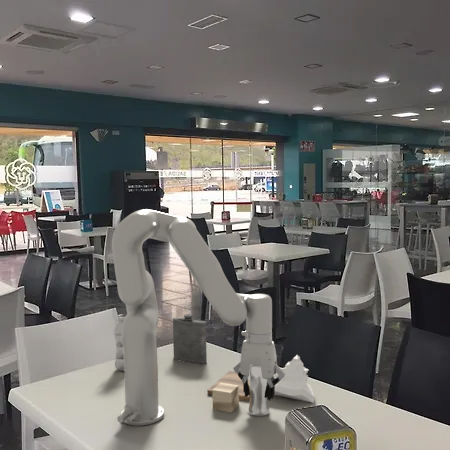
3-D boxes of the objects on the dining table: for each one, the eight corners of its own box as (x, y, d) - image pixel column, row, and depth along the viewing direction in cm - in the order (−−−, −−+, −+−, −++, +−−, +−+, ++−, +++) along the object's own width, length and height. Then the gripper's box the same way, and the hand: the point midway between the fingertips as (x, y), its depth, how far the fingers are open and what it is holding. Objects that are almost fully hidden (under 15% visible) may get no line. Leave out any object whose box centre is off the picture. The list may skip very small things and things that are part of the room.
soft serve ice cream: (276, 391, 171) (284, 348, 172) (319, 404, 163) (327, 359, 165) (260, 395, 160) (268, 349, 162) (305, 409, 153) (314, 361, 154)
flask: (203, 365, 192) (202, 317, 191) (171, 359, 199) (169, 313, 197) (208, 362, 195) (207, 315, 194) (176, 356, 202) (175, 311, 201)
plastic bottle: (111, 372, 186) (109, 317, 185) (120, 365, 193) (118, 313, 191) (127, 373, 184) (125, 318, 183) (136, 367, 191) (134, 314, 189)
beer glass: (271, 417, 148) (271, 366, 147) (247, 417, 148) (247, 366, 147) (269, 406, 155) (269, 358, 154) (246, 406, 155) (246, 358, 154)
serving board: (248, 401, 160) (248, 396, 160) (207, 394, 165) (207, 389, 165) (267, 380, 176) (267, 376, 176) (229, 375, 182) (229, 370, 182)
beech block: (231, 412, 152) (230, 392, 152) (212, 409, 155) (212, 389, 154) (238, 404, 158) (238, 385, 157) (220, 401, 160) (220, 382, 160)
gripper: (226, 337, 150) (226, 397, 151) (283, 344, 143) (283, 407, 145) (236, 330, 157) (236, 387, 158) (291, 336, 150) (291, 396, 151)
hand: (258, 396), depth 151 cm, fingers closed on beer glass, 6 cm apart
